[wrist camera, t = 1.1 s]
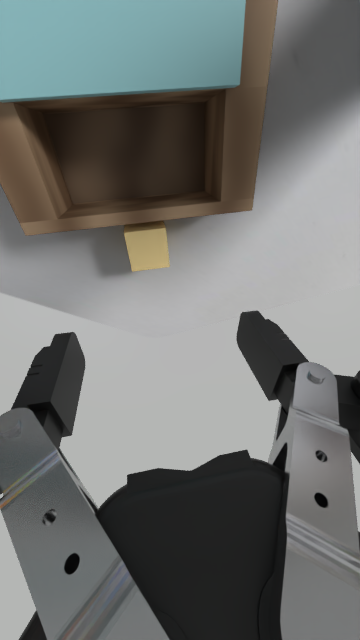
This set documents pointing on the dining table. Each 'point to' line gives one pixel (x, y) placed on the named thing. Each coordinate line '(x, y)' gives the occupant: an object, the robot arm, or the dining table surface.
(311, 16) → the dining table surface
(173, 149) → the wooden box
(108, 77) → the sliding lid
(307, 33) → the dining table surface
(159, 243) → the ochre block
